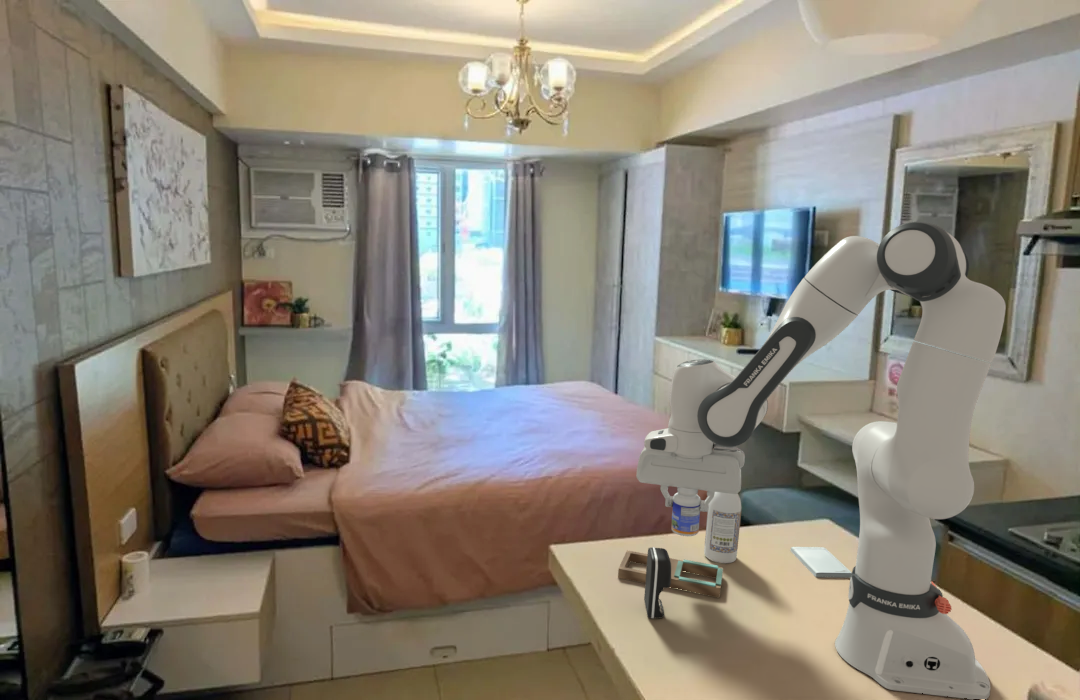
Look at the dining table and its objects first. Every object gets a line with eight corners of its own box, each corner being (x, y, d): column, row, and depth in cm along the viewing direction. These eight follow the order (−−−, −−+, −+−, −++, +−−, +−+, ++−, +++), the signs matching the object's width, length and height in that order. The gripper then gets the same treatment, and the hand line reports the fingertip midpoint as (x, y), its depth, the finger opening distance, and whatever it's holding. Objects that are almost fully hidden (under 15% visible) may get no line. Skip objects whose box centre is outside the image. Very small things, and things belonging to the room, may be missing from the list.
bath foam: (742, 563, 147) (751, 474, 144) (712, 565, 145) (721, 475, 142) (726, 549, 153) (735, 464, 150) (698, 550, 152) (706, 464, 149)
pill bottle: (669, 525, 139) (671, 479, 138) (696, 526, 139) (698, 480, 137) (673, 536, 134) (675, 489, 132) (701, 537, 134) (703, 490, 132)
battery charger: (668, 621, 122) (673, 561, 121) (647, 619, 123) (652, 560, 121) (663, 601, 129) (668, 544, 128) (643, 599, 130) (648, 543, 128)
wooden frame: (722, 577, 140) (723, 566, 140) (719, 597, 132) (720, 586, 131) (626, 559, 146) (627, 549, 146) (617, 577, 138) (618, 567, 137)
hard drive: (853, 573, 143) (825, 546, 155) (816, 572, 142) (790, 545, 154) (852, 580, 143) (824, 553, 155) (815, 580, 142) (789, 552, 154)
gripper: (745, 442, 133) (741, 509, 135) (641, 431, 139) (638, 496, 142) (745, 451, 127) (740, 521, 130) (636, 439, 133) (633, 507, 136)
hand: (686, 508), depth 136 cm, fingers closed on pill bottle, 5 cm apart
